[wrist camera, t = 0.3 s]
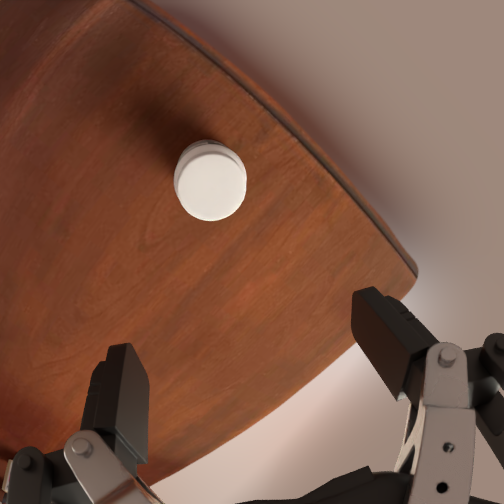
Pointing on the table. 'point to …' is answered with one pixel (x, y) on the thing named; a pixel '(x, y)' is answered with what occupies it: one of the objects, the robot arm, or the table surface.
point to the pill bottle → (210, 180)
